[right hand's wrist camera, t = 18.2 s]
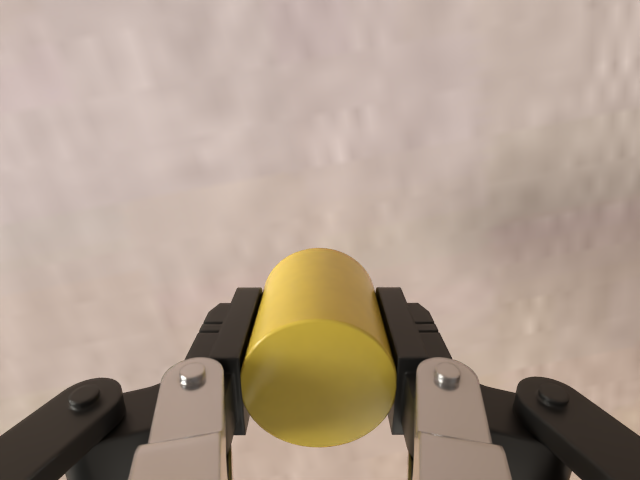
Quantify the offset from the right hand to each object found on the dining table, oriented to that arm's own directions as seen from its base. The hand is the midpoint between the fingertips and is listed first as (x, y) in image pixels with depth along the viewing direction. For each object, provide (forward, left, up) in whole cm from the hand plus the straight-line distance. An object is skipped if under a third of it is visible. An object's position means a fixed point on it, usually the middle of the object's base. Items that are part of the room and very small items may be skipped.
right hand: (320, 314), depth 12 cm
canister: (0, 0, 0) cm, 1 cm away
